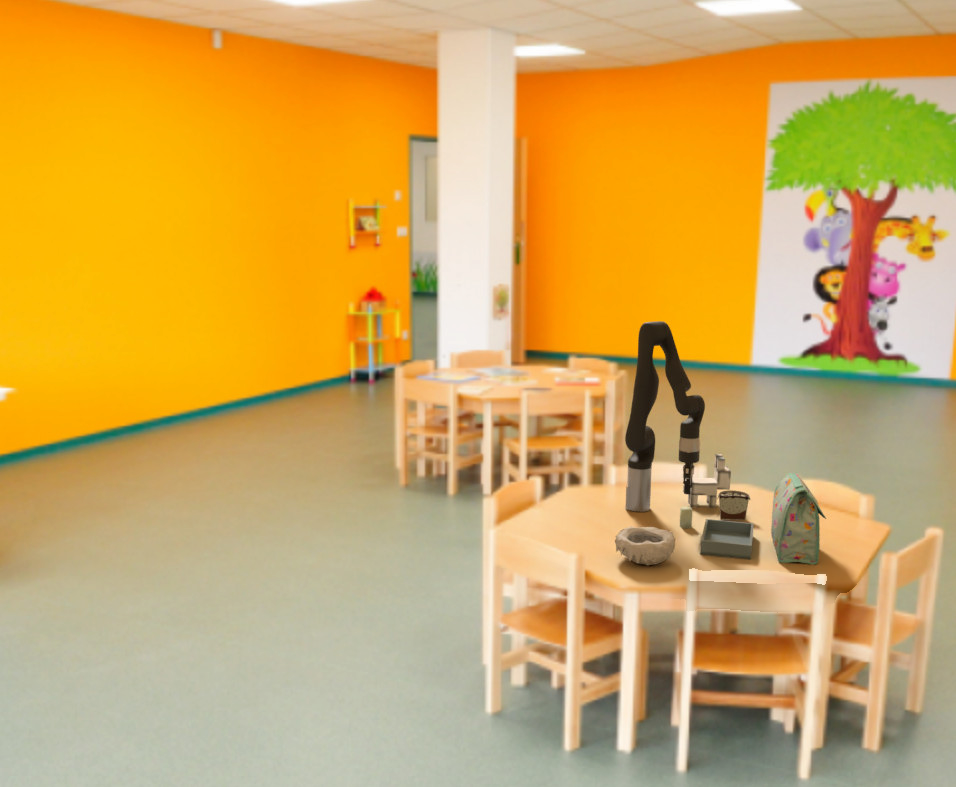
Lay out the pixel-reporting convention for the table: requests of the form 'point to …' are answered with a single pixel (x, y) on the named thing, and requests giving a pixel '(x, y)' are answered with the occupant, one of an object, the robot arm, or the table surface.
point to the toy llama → (710, 483)
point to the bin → (727, 539)
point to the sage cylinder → (686, 517)
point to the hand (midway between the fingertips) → (687, 490)
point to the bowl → (645, 544)
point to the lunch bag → (795, 522)
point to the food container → (733, 505)
